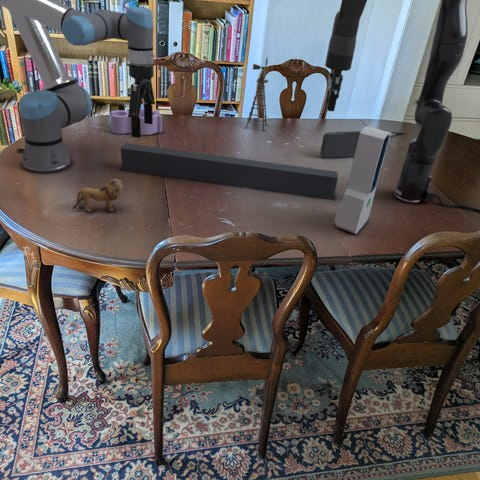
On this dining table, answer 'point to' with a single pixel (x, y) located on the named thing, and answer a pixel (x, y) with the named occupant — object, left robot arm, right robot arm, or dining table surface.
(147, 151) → the bar
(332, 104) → the right robot arm
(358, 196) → the electronic device
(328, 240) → the dining table surface
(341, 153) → the handheld gaming console
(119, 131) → the purple lobed container
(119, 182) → the lion figurine
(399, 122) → the dining table surface
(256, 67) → the miniature windmill
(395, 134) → the sword
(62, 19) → the left robot arm
